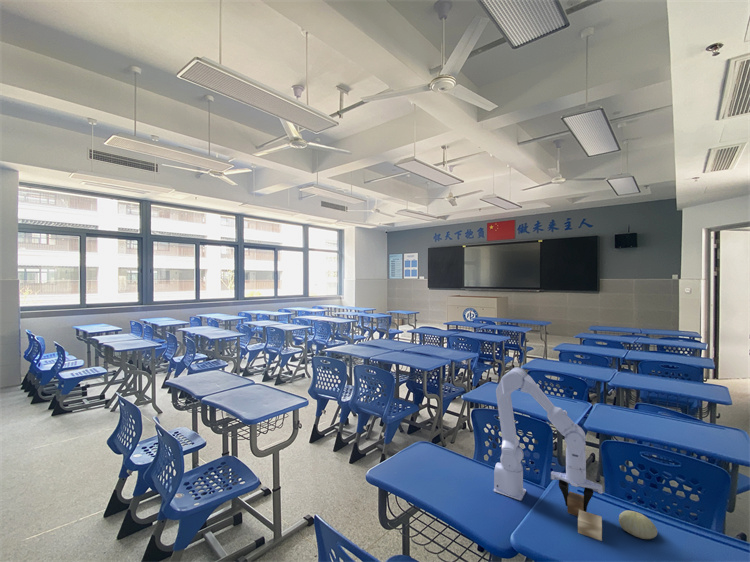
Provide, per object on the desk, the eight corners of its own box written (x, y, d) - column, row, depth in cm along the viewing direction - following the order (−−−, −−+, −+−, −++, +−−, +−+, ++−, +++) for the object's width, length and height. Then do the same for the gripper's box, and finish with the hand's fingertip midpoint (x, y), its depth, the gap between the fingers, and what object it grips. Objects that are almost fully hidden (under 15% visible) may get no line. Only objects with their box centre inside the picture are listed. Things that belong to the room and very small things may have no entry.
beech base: (577, 533, 103) (577, 519, 103) (579, 522, 108) (579, 509, 108) (601, 541, 100) (601, 527, 100) (602, 530, 105) (601, 516, 105)
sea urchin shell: (644, 539, 98) (624, 507, 104) (625, 546, 103) (608, 515, 109) (668, 534, 100) (647, 503, 106) (648, 541, 105) (630, 511, 111)
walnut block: (567, 512, 113) (567, 497, 113) (569, 506, 116) (569, 491, 116) (583, 518, 110) (583, 502, 110) (584, 511, 114) (584, 495, 114)
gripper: (549, 463, 115) (549, 505, 114) (601, 477, 106) (601, 522, 106) (553, 455, 120) (553, 495, 120) (602, 468, 112) (603, 511, 111)
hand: (576, 507), depth 113 cm, fingers closed on walnut block, 4 cm apart
